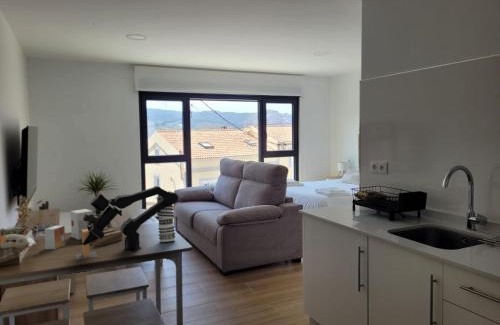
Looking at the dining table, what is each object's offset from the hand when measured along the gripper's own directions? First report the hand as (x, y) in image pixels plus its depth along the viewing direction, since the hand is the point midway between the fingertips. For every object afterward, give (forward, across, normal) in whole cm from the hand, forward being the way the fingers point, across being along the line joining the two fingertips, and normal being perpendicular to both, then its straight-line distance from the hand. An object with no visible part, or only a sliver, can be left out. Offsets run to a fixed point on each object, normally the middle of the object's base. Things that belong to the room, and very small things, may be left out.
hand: (82, 243), depth 177 cm
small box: (+13, -24, -3) cm, 27 cm away
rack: (-3, -23, +13) cm, 27 cm away
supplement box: (+3, -38, +7) cm, 39 cm away
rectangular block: (+3, 0, +5) cm, 6 cm away
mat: (+4, 0, +6) cm, 7 cm away
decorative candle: (-25, -5, +34) cm, 43 cm away
